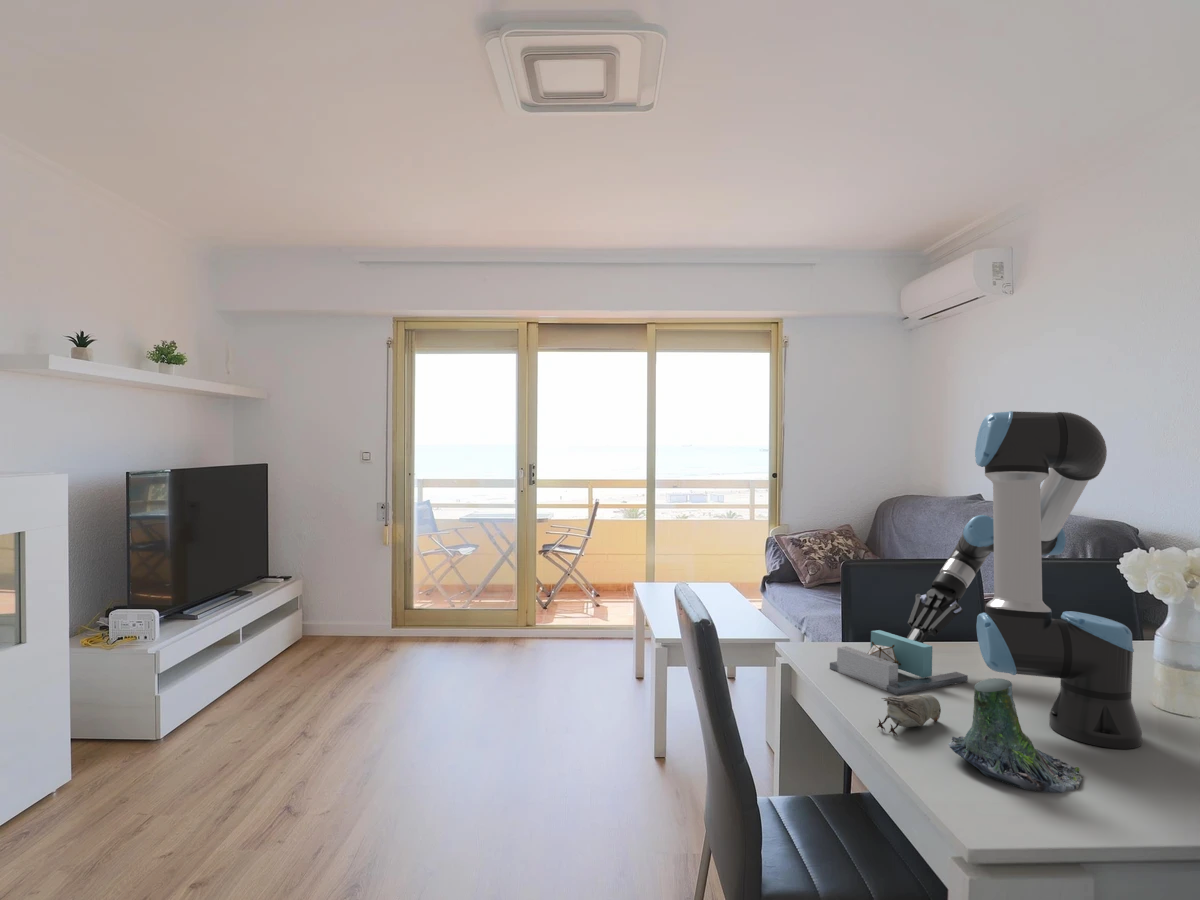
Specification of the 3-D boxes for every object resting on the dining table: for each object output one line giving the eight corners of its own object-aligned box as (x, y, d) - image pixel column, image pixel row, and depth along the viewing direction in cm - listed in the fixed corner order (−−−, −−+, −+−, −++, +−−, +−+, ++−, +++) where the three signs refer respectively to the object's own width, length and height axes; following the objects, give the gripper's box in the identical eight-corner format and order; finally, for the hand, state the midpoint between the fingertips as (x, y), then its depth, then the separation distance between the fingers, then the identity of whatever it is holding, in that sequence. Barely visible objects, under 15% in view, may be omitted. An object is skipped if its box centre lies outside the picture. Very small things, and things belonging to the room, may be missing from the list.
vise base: (967, 681, 171) (967, 656, 171) (897, 695, 161) (897, 669, 161) (896, 657, 190) (897, 635, 190) (829, 668, 180) (830, 644, 180)
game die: (883, 694, 172) (879, 668, 167) (857, 672, 179) (853, 646, 174) (910, 673, 174) (907, 647, 169) (883, 653, 181) (880, 627, 176)
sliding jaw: (931, 676, 169) (932, 646, 169) (923, 677, 168) (923, 647, 168) (878, 657, 184) (879, 629, 184) (870, 658, 183) (870, 631, 182)
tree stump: (1109, 803, 114) (1085, 696, 113) (979, 820, 117) (955, 715, 117) (1055, 749, 132) (1034, 656, 132) (944, 765, 135) (923, 675, 135)
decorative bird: (948, 726, 144) (949, 689, 144) (895, 741, 136) (896, 702, 136) (925, 717, 149) (926, 681, 148) (872, 730, 141) (873, 693, 141)
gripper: (982, 595, 180) (936, 669, 173) (938, 585, 192) (893, 654, 185) (968, 576, 177) (921, 650, 170) (924, 567, 189) (878, 636, 182)
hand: (906, 652), depth 178 cm, fingers closed
